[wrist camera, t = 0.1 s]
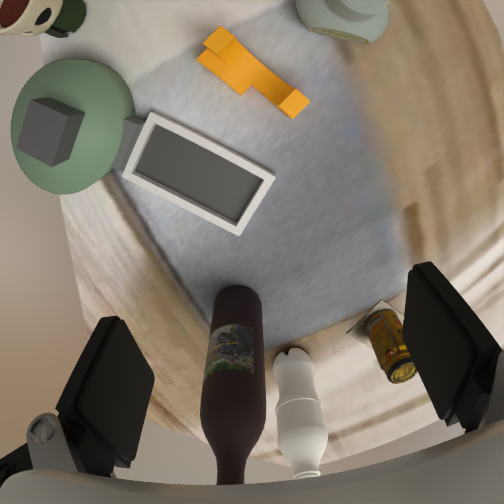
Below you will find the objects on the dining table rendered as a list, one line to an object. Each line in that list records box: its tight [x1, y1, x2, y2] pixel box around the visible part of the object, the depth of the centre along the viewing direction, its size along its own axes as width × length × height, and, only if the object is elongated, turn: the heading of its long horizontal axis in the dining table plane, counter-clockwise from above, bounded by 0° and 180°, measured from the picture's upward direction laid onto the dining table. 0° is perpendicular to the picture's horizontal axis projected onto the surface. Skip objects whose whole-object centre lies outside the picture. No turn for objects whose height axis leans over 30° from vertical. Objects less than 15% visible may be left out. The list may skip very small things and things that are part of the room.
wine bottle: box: [200, 286, 266, 485], centre depth 34 cm, size 7×7×30 cm
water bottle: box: [273, 348, 328, 480], centre depth 42 cm, size 7×7×25 cm
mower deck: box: [11, 59, 276, 236], centre depth 32 cm, size 17×35×9 cm, turn 60°
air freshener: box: [295, 0, 390, 44], centre depth 24 cm, size 11×8×10 cm
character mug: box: [0, 0, 86, 38], centre depth 21 cm, size 11×7×13 cm, turn 106°
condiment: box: [347, 300, 418, 384], centre depth 45 cm, size 7×8×12 cm
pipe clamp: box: [196, 26, 310, 119], centre depth 30 cm, size 12×4×6 cm, turn 48°
